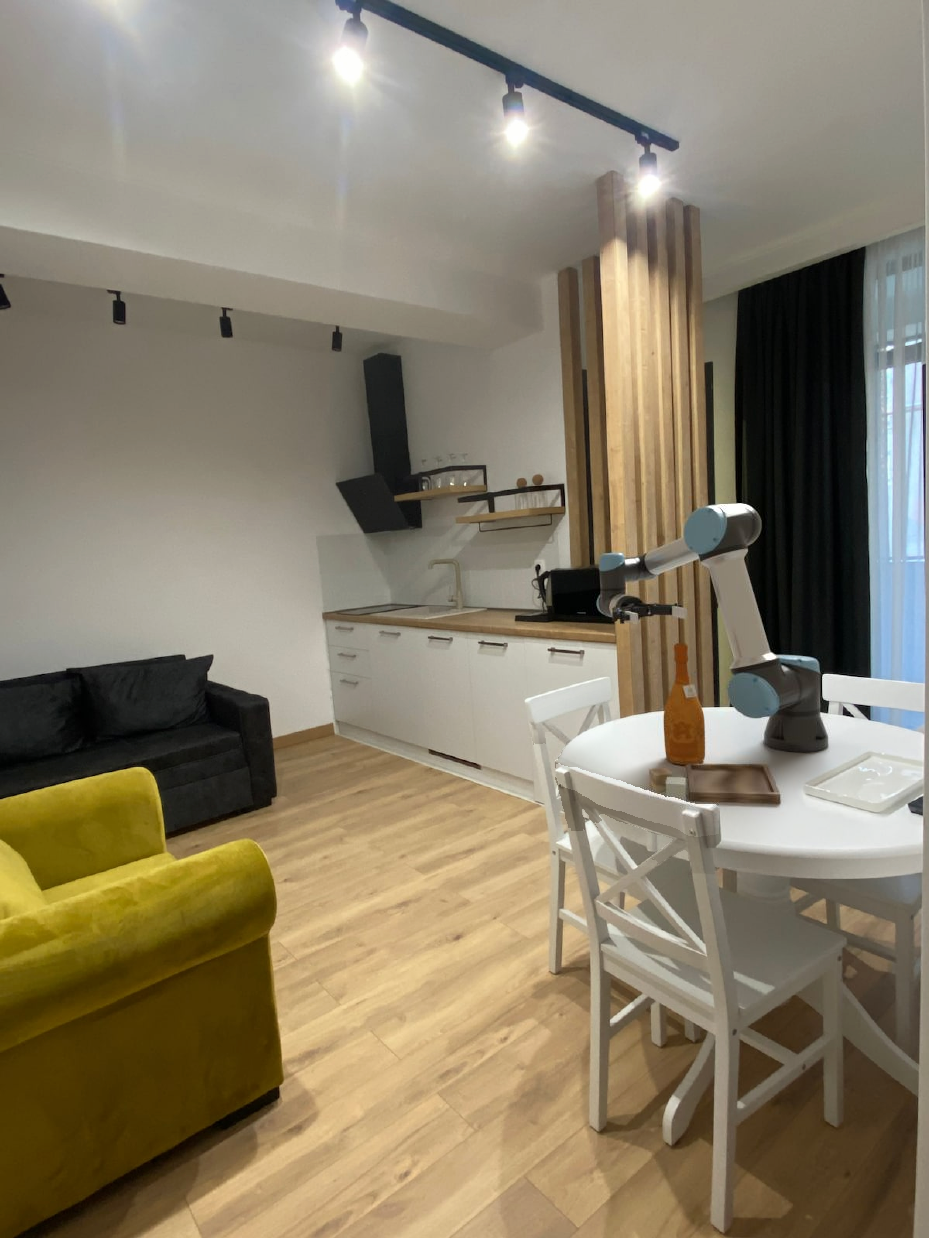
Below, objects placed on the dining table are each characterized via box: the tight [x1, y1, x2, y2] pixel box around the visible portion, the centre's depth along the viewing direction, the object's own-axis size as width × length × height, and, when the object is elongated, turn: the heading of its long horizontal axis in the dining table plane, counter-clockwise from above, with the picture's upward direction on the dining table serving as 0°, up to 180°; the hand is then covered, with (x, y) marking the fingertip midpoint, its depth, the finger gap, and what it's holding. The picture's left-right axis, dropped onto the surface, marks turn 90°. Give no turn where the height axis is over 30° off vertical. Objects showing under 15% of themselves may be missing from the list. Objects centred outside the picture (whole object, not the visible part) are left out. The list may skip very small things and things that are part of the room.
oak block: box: [648, 767, 674, 793], centre depth 157 cm, size 4×4×4 cm
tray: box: [686, 763, 782, 804], centre depth 155 cm, size 18×18×2 cm
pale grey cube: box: [665, 776, 687, 802], centre depth 151 cm, size 4×4×4 cm
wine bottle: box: [663, 642, 706, 766], centre depth 172 cm, size 10×10×30 cm
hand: (661, 616), depth 179 cm, fingers open, 13 cm apart
